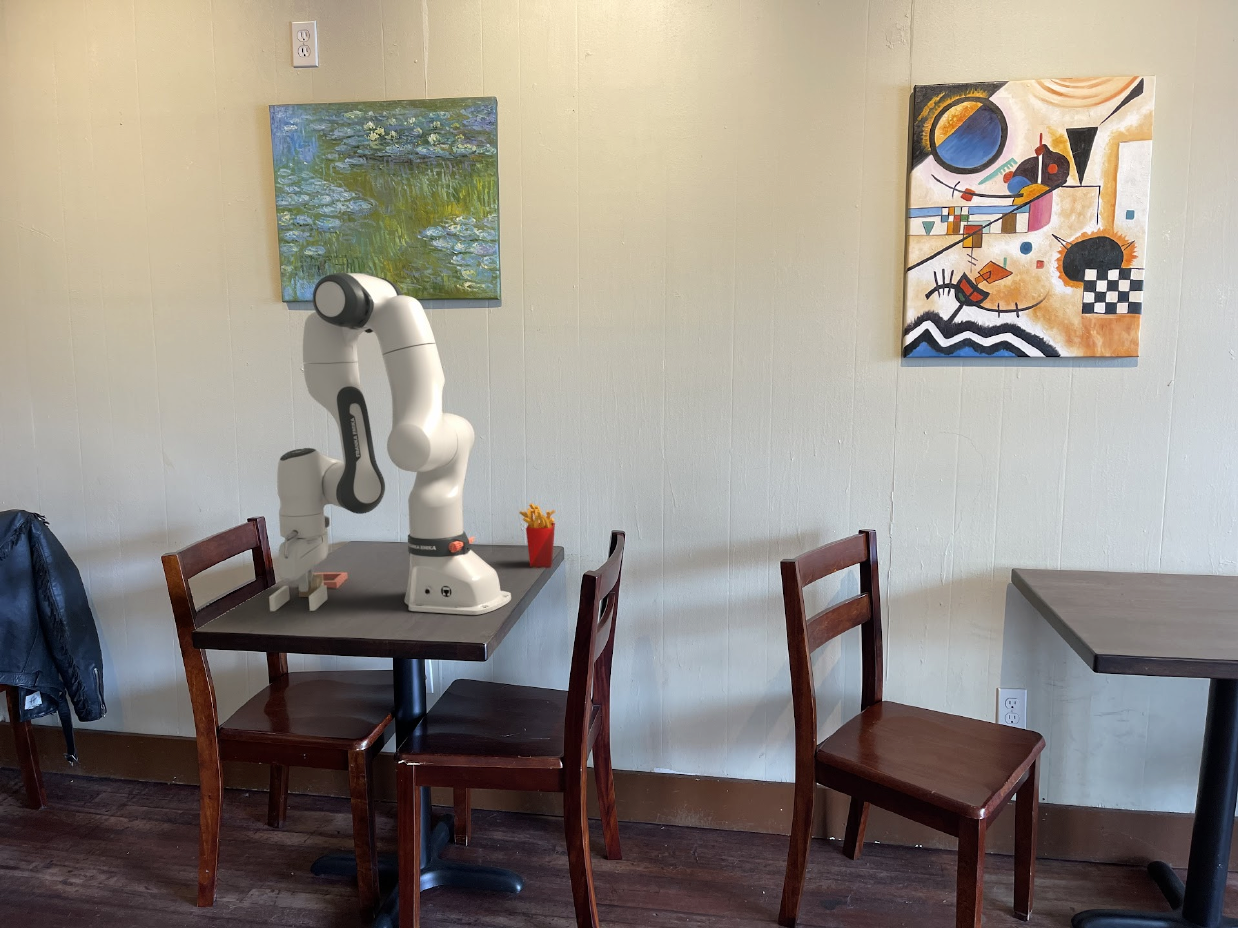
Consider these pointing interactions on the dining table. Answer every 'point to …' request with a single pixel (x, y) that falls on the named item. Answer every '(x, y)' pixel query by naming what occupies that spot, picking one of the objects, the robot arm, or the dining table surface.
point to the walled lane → (283, 596)
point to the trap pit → (333, 579)
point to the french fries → (539, 536)
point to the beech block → (313, 585)
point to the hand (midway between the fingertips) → (305, 589)
